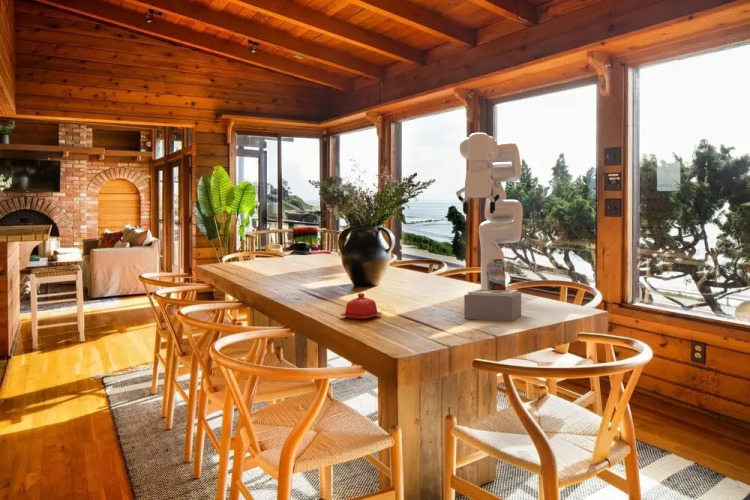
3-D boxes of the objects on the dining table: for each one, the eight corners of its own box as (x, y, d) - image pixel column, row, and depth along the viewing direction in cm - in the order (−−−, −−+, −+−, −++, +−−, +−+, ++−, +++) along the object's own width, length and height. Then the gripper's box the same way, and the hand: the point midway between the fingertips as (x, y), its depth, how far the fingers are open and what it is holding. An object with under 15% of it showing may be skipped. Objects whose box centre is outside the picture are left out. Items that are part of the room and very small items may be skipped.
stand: (476, 312, 200) (476, 288, 200) (521, 315, 193) (521, 289, 193) (464, 318, 185) (464, 292, 185) (512, 321, 179) (512, 293, 178)
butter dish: (365, 320, 185) (364, 295, 185) (338, 318, 191) (338, 293, 191) (384, 316, 194) (383, 292, 194) (357, 314, 201) (357, 291, 201)
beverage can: (493, 294, 185) (492, 258, 184) (482, 292, 192) (482, 258, 191) (509, 293, 186) (509, 258, 186) (498, 291, 193) (498, 257, 193)
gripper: (504, 167, 202) (504, 213, 203) (458, 169, 210) (459, 214, 210) (500, 164, 196) (500, 212, 196) (453, 167, 203) (453, 213, 203)
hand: (478, 213), depth 203 cm, fingers open, 9 cm apart
